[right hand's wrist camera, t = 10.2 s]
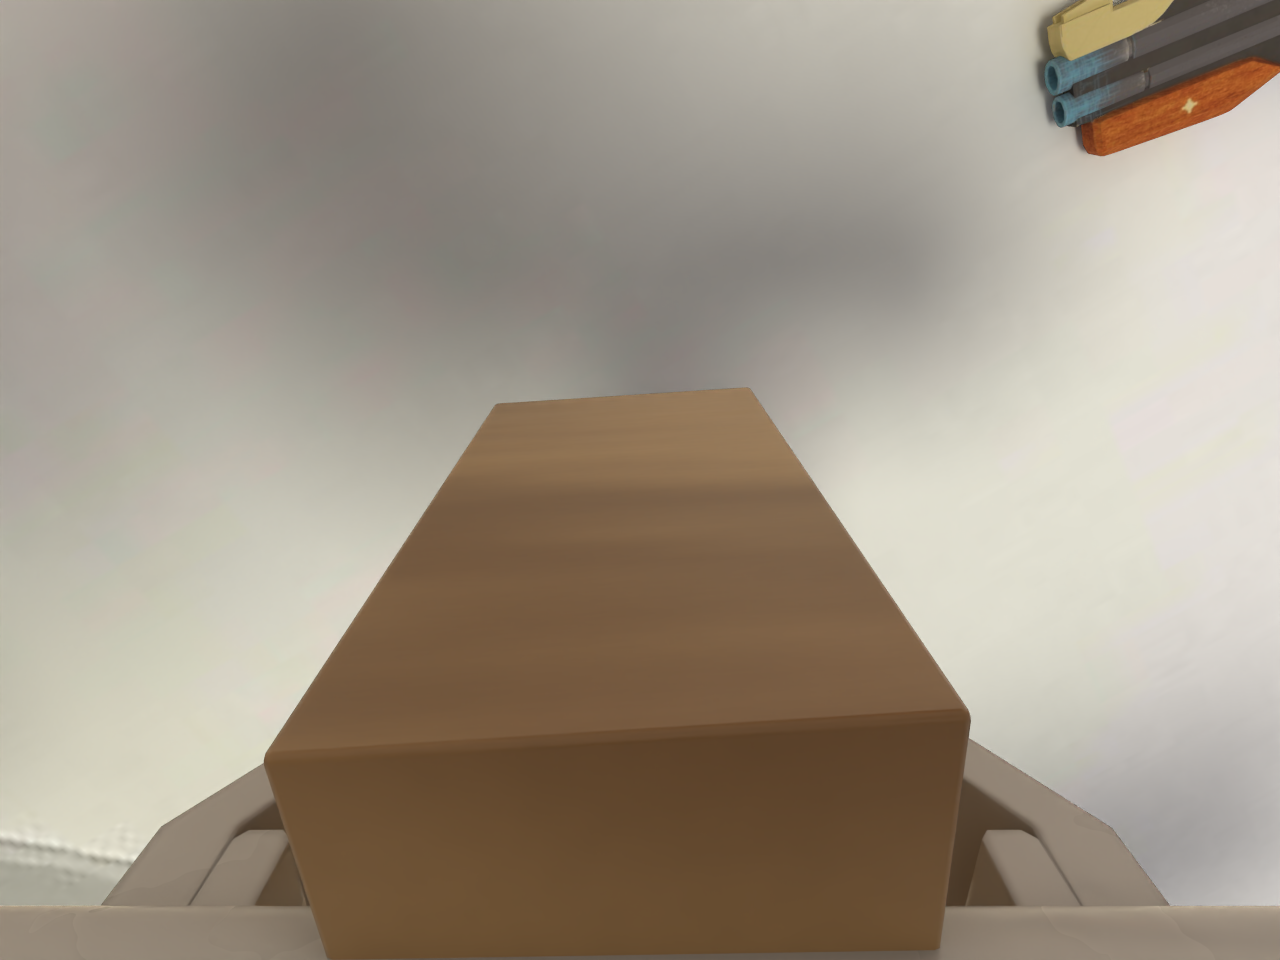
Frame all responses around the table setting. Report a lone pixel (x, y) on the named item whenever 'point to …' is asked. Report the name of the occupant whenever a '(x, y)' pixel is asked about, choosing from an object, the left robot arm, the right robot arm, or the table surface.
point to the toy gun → (1156, 65)
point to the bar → (625, 710)
